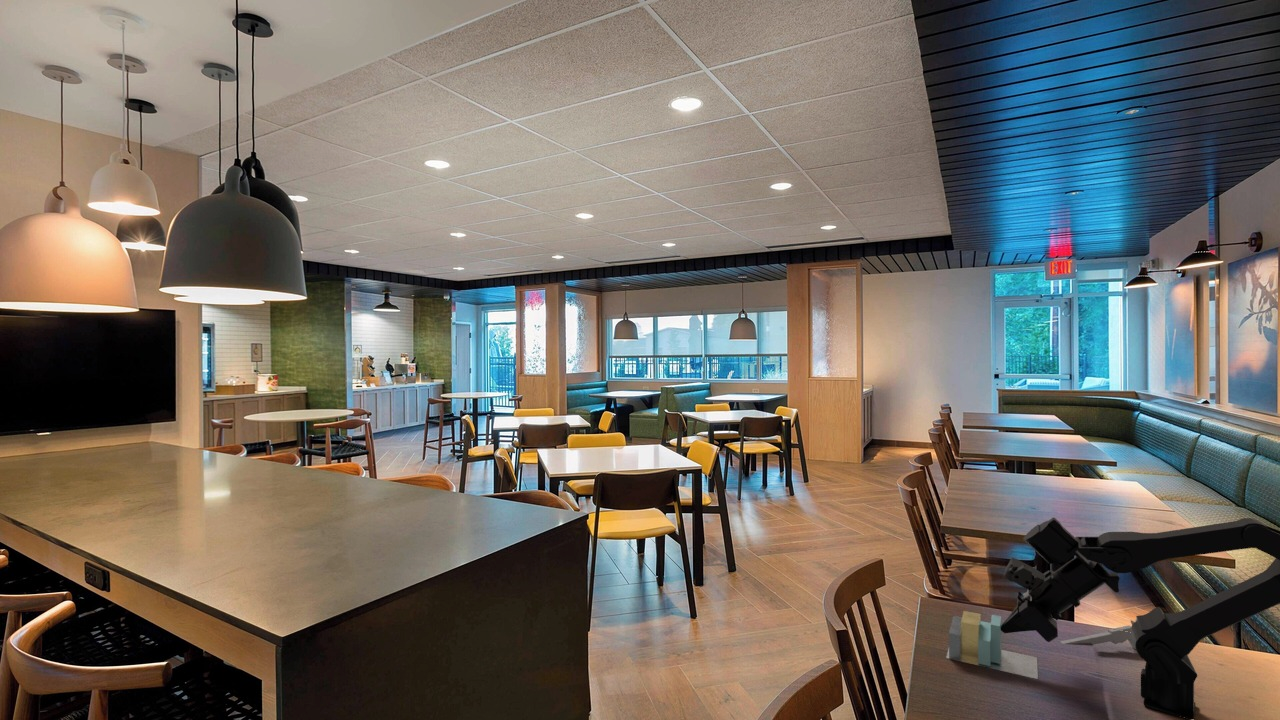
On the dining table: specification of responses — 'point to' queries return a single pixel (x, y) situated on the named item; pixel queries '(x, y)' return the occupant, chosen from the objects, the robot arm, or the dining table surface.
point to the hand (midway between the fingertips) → (1002, 630)
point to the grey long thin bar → (1106, 637)
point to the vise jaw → (990, 641)
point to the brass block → (970, 635)
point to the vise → (1008, 662)
